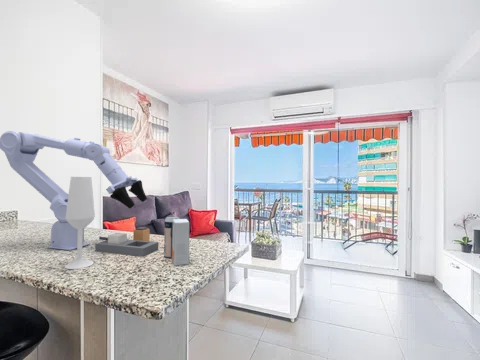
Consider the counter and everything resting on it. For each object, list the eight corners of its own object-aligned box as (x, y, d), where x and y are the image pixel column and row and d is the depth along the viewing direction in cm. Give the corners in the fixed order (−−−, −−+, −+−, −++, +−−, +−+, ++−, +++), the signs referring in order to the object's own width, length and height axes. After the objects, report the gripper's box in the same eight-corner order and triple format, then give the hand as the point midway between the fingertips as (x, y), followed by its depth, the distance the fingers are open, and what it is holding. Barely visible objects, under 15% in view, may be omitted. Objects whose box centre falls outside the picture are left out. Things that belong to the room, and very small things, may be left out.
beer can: (175, 259, 73) (176, 218, 73) (160, 257, 74) (161, 218, 74) (182, 254, 77) (183, 216, 77) (168, 253, 78) (169, 216, 78)
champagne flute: (89, 259, 71) (91, 177, 71) (96, 264, 67) (98, 177, 67) (61, 264, 66) (63, 176, 67) (67, 270, 62) (69, 176, 62)
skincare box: (171, 259, 72) (172, 219, 72) (186, 257, 74) (186, 218, 74) (173, 266, 67) (174, 222, 67) (189, 264, 68) (190, 221, 68)
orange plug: (133, 243, 89) (133, 228, 89) (140, 241, 93) (140, 226, 93) (142, 244, 88) (143, 229, 88) (149, 242, 92) (149, 227, 92)
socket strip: (90, 250, 79) (90, 235, 79) (109, 244, 87) (109, 230, 87) (143, 256, 74) (143, 240, 74) (158, 249, 82) (158, 234, 82)
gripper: (106, 169, 77) (133, 203, 78) (134, 163, 91) (157, 191, 92) (93, 182, 79) (119, 215, 80) (122, 174, 93) (144, 202, 93)
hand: (138, 203), depth 86 cm, fingers open, 7 cm apart
